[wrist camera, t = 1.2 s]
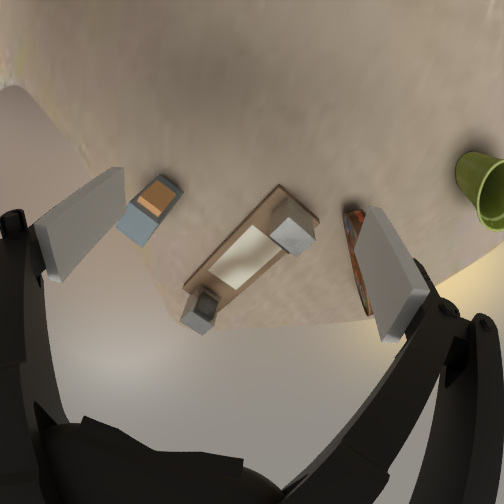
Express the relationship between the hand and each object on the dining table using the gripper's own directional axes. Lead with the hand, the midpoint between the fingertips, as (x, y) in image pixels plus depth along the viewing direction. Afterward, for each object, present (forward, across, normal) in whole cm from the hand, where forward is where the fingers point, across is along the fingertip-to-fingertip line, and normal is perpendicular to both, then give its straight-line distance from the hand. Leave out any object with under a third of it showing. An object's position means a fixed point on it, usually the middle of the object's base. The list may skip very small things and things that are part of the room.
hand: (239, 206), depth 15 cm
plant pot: (+21, +29, +2) cm, 36 cm away
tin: (+21, +16, -13) cm, 29 cm away
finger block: (+21, -12, -10) cm, 26 cm away
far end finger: (+20, -5, -25) cm, 32 cm away
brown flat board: (+21, 0, -17) cm, 27 cm away
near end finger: (+20, +5, -9) cm, 22 cm away
